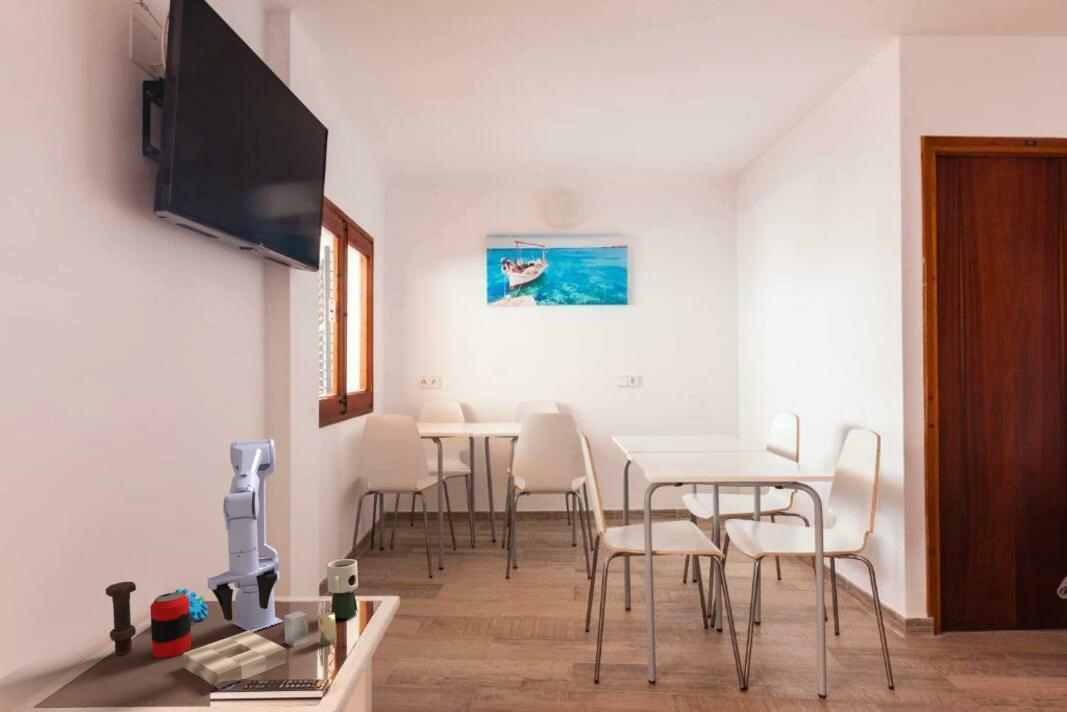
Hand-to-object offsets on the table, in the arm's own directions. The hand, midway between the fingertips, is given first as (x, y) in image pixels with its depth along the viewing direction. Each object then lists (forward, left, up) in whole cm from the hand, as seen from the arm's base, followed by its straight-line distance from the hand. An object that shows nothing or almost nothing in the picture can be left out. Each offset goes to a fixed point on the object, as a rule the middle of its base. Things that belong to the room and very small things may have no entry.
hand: (246, 613), depth 144 cm
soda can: (-19, -8, -10) cm, 23 cm away
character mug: (-4, +26, -10) cm, 28 cm away
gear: (-35, +3, -10) cm, 37 cm away
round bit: (+6, +15, -10) cm, 19 cm away
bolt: (-27, -15, -10) cm, 32 cm away
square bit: (0, +11, -10) cm, 15 cm away
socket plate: (0, -3, -10) cm, 10 cm away
